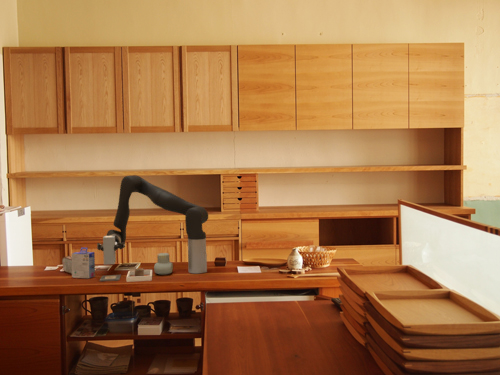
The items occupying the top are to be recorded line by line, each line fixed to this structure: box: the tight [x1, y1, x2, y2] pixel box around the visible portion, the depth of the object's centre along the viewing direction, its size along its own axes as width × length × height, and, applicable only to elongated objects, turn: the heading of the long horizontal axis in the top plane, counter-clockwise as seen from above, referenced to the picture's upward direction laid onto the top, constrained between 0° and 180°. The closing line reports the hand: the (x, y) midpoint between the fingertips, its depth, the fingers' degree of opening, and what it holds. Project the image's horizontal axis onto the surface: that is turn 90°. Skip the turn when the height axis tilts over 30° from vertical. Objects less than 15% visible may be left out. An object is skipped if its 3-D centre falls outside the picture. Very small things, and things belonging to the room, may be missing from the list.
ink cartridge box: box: [71, 246, 96, 279], centre depth 226 cm, size 10×6×14 cm, turn 79°
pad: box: [99, 274, 122, 282], centre depth 223 cm, size 9×9×1 cm
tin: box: [61, 255, 72, 275], centre depth 235 cm, size 15×3×8 cm, turn 47°
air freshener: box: [153, 252, 174, 276], centre depth 231 cm, size 11×8×10 cm
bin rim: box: [125, 269, 153, 283], centre depth 224 cm, size 12×13×2 cm
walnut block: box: [134, 267, 145, 276], centre depth 220 cm, size 4×4×5 cm
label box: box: [102, 235, 117, 265], centre depth 222 cm, size 5×5×13 cm
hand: (108, 248), depth 219 cm, fingers closed on label box, 5 cm apart
